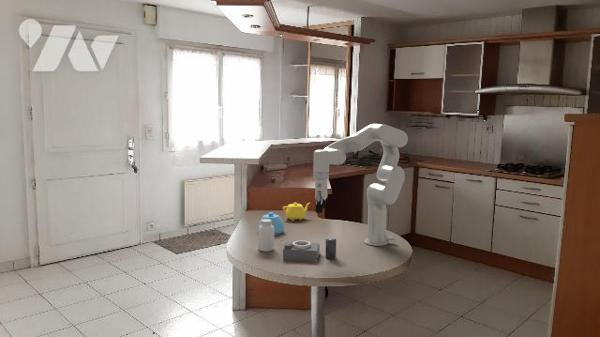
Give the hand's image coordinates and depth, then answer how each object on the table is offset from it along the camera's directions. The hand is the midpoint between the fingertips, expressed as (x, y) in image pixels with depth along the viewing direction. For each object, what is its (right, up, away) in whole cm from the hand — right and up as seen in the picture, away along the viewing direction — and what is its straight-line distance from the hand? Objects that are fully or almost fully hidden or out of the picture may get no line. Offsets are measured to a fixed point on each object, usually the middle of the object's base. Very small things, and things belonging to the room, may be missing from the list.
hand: (320, 210), depth 225 cm
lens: (+5, -22, -4) cm, 23 cm away
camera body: (-9, -22, -2) cm, 24 cm away
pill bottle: (-27, -21, +8) cm, 35 cm away
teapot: (-12, -12, +70) cm, 72 cm away
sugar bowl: (-26, -16, +39) cm, 50 cm away
